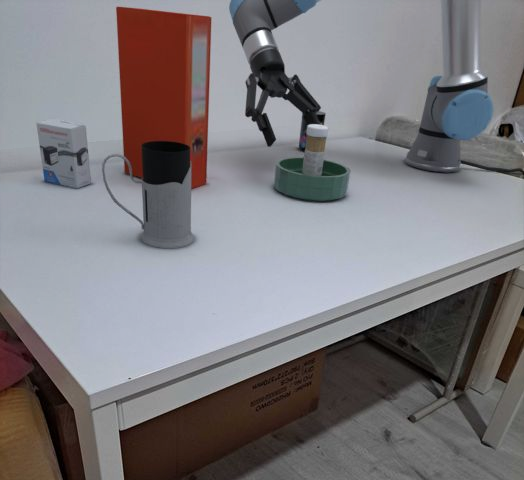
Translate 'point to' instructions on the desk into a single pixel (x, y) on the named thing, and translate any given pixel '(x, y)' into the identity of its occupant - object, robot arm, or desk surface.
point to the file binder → (164, 83)
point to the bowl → (311, 180)
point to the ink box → (64, 152)
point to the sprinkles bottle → (315, 149)
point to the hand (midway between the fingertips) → (296, 141)
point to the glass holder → (163, 193)
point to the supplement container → (304, 128)
